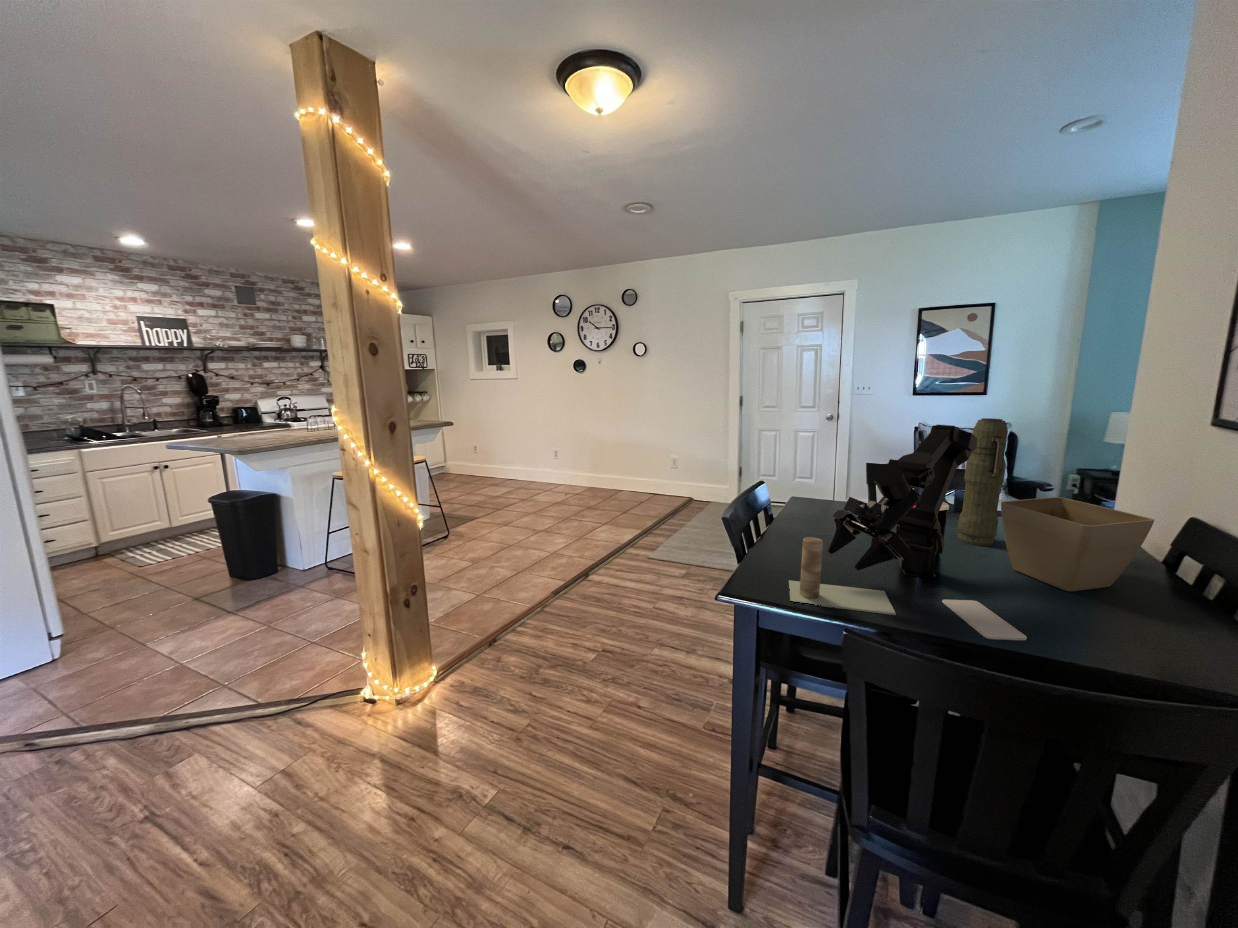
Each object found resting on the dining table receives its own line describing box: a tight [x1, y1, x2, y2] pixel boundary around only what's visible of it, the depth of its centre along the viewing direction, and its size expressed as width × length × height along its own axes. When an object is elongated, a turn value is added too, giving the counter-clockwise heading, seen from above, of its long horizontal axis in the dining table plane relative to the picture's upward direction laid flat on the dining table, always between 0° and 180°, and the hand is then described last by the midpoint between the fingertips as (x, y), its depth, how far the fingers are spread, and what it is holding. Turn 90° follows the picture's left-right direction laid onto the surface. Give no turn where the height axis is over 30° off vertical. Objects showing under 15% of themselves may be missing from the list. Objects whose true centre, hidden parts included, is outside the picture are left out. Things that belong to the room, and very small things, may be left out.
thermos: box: [956, 417, 1009, 547], centre depth 134 cm, size 9×12×35 cm
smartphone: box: [941, 599, 1028, 641], centre depth 94 cm, size 7×1×15 cm
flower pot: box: [1000, 496, 1155, 592], centre depth 110 cm, size 19×19×17 cm
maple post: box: [799, 536, 824, 599], centre depth 103 cm, size 4×4×12 cm
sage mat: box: [788, 580, 897, 616], centre depth 104 cm, size 20×10×1 cm, turn 73°
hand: (842, 560), depth 104 cm, fingers open, 9 cm apart
